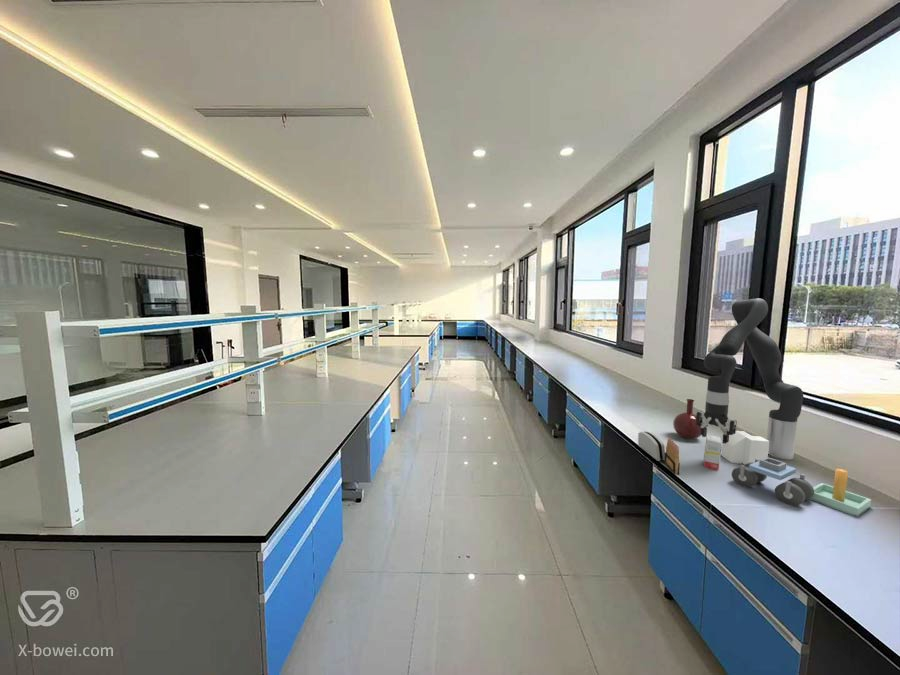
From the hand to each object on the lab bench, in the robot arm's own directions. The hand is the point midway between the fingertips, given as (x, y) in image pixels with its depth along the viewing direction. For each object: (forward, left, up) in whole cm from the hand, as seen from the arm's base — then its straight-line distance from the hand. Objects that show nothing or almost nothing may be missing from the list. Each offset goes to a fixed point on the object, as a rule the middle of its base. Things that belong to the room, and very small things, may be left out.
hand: (714, 439), depth 146 cm
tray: (-8, +35, -12) cm, 38 cm away
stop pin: (-8, +35, -11) cm, 37 cm away
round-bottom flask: (-22, -22, -12) cm, 34 cm away
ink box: (0, 0, -12) cm, 12 cm away
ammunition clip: (+19, -6, -12) cm, 23 cm away
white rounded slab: (+13, -18, -12) cm, 25 cm away
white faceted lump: (-16, +4, -12) cm, 21 cm away
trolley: (+4, +21, -12) cm, 24 cm away
